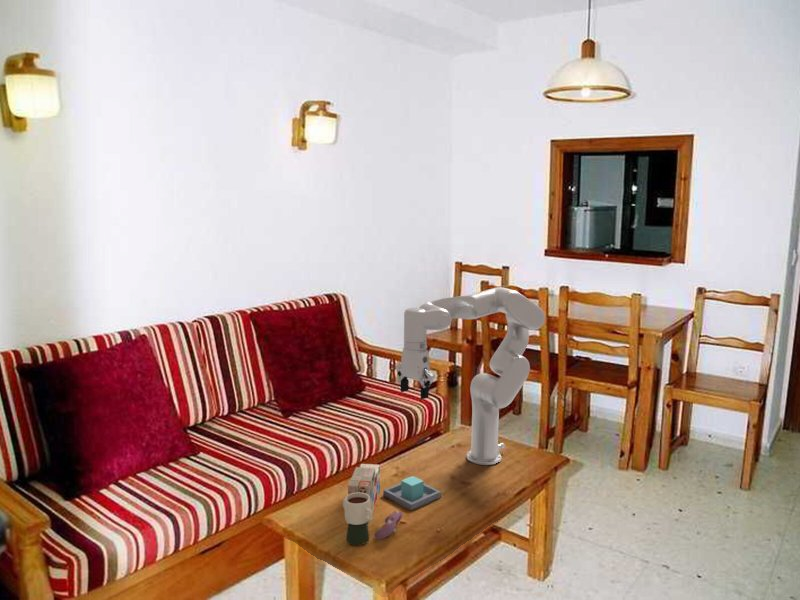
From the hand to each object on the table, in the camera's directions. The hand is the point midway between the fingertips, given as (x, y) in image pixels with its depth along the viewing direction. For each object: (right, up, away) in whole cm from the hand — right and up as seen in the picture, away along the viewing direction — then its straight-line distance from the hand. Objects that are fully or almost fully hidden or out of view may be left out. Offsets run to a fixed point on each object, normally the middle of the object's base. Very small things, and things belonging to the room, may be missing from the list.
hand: (414, 394), depth 220 cm
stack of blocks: (-16, -32, -18) cm, 40 cm away
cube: (-1, -30, -12) cm, 33 cm away
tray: (-1, -31, -12) cm, 33 cm away
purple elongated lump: (-8, -35, -33) cm, 49 cm away
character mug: (-17, -36, -38) cm, 55 cm away
